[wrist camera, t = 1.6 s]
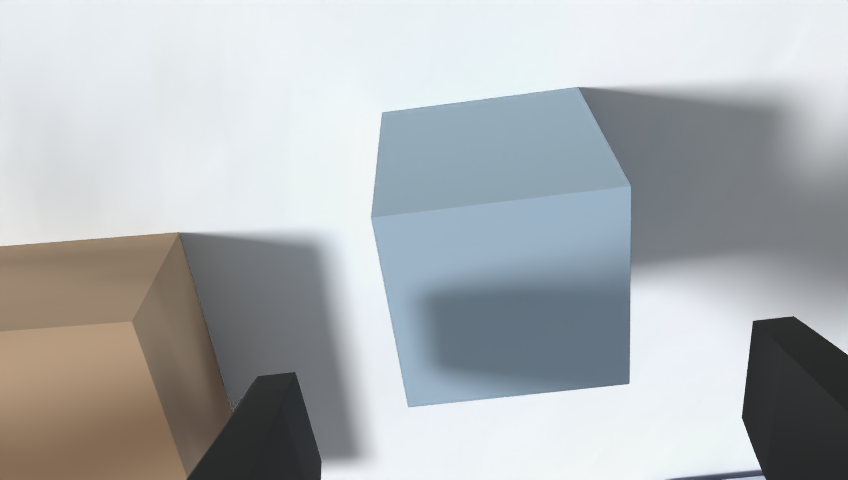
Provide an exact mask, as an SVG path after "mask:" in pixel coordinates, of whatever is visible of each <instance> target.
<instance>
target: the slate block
mask: <svg viewBox="0 0 848 480" xmlns="http://www.w3.org/2000/svg"><path fill="white" fill-rule="evenodd" d="M371 219H372V224H373V230H374V235H375V240H376V245H377V250H378V255H379V260H380V265H381V271H382V276H383V281H384V286H385V291H386V296H387V301H388V306H389V312H390V317H391V322H392V327H393V332H394V337H395V342H396V347H397V352H398V358H399V363H400V368H401V373H402V378H403V383H404V388H405V393H406V399H407V404H408V407H415V406H425V405H434V404H444V403H453V402H463V401H472V400H482V399H491V398H500V397H510V396H519V395H529V394H538V393H548V392H557V391H566V390H576V389H585V388H595V387H604V386H614V385H623V384H629V375H630V262H631V185H630V183H629V181H628V179H627V177H626V175H625V174H624V172H623V170H622V168H621V166H620V164H619V162H618V161H617V159H616V157H615V155H614V153H613V151H612V149H611V148H610V146H609V144H608V142H607V140H606V138H605V136H604V135H603V133H602V131H601V129H600V127H599V125H598V123H597V121H596V120H595V118H594V116H593V114H592V112H591V110H590V108H589V107H588V105H587V103H586V101H585V99H584V97H583V95H582V94H581V92H580V90H579V88H578V87H574V88H567V89H559V90H551V91H544V92H536V93H529V94H521V95H513V96H506V97H498V98H490V99H483V100H475V101H467V102H460V103H452V104H444V105H437V106H429V107H421V108H414V109H406V110H399V111H391V112H383V113H382V118H381V128H380V138H379V147H378V157H377V166H376V176H375V186H374V195H373V205H372V214H371Z"/></svg>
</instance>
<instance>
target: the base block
mask: <svg viewBox="0 0 848 480" xmlns="http://www.w3.org/2000/svg"><path fill="white" fill-rule="evenodd" d="M231 415H232V411H231V408H230V405H229V401H228V398H227V394H226V391H225V387H224V384H223V381H222V377H221V374H220V370H219V367H218V364H217V360H216V357H215V353H214V350H213V347H212V343H211V340H210V336H209V333H208V329H207V326H206V323H205V319H204V316H203V312H202V309H201V306H200V302H199V299H198V295H197V292H196V288H195V285H194V282H193V278H192V275H191V271H190V268H189V265H188V261H187V258H186V254H185V251H184V247H183V244H182V241H181V237H180V234H179V232H177V233H165V234H152V235H139V236H127V237H114V238H101V239H89V240H76V241H63V242H51V243H38V244H25V245H13V246H0V480H186V479H187V477H188V476H189V474H190V473H191V472H192V470H193V469H194V467H195V466H196V465H197V463H198V462H199V461H200V459H201V458H202V456H203V455H204V454H205V452H206V451H207V450H208V448H209V447H210V445H211V444H212V443H213V441H214V440H215V438H216V437H217V435H218V434H219V432H220V431H221V429H222V428H223V427H224V425H225V424H226V422H227V421H228V419H229V418H230V416H231Z"/></svg>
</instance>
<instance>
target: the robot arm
mask: <svg viewBox="0 0 848 480" xmlns="http://www.w3.org/2000/svg"><path fill="white" fill-rule="evenodd" d="M742 419H743V422H744V425H745V427H746V430H747V433H748V436H749V438H750V441H751V444H752V446H753V449H754V452H755V454H756V457H757V459H758V462H759V464H760V467H761V469H762V472H763V474H764V476H754V477H744V478H734V479H724V480H848V355H847V354H846V353H844V352H843V351H842V350H840V349H839V348H837V347H836V346H835V345H833V344H832V343H831V342H829V341H828V340H826V339H825V338H824V337H822V336H821V335H819V334H818V333H817V332H815V331H814V330H812V329H811V328H810V327H808V326H807V325H805V324H804V323H803V322H801V321H800V320H798V319H797V318H795V317H794V316H793V317H784V318H775V319H766V320H757V321H753V326H752V335H751V343H750V352H749V361H748V369H747V378H746V386H745V395H744V404H743V412H742ZM186 480H321V458H320V455H319V452H318V448H317V445H316V441H315V438H314V434H313V431H312V428H311V424H310V421H309V417H308V414H307V410H306V407H305V404H304V400H303V397H302V393H301V390H300V387H299V383H298V380H297V376H296V373H295V372H293V373H284V374H275V375H266V376H258V377H257V379H256V380H255V381H254V382H253V383H252V385H251V386H250V388H249V389H248V391H247V392H246V394H245V395H244V397H243V398H242V400H241V401H240V403H239V404H238V406H237V407H236V409H235V410H234V412H233V413H232V415H231V416H230V418H229V419H228V421H227V422H226V424H225V425H224V427H223V428H222V429H221V431H220V432H219V434H218V435H217V437H216V438H215V440H214V441H213V443H212V444H211V445H210V447H209V448H208V450H207V451H206V452H205V454H204V455H203V456H202V458H201V459H200V461H199V462H198V463H197V465H196V466H195V467H194V469H193V470H192V472H191V473H190V474H189V476H188V477H187V479H186Z"/></svg>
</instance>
